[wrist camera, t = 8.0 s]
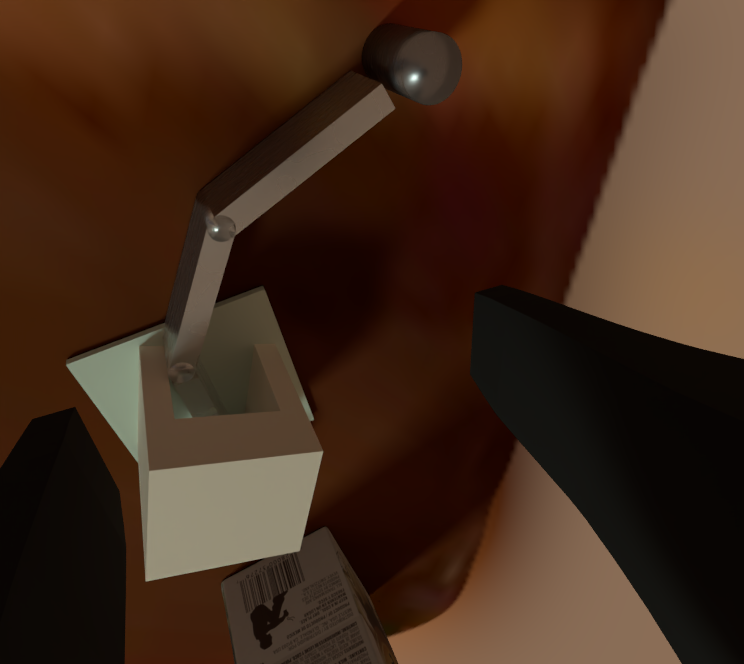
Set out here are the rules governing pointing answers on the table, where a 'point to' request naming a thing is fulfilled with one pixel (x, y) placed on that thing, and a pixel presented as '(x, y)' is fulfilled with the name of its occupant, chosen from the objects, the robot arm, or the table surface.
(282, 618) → the coffee box
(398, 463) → the table surface
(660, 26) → the table surface
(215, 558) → the u block
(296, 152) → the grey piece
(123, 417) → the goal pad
